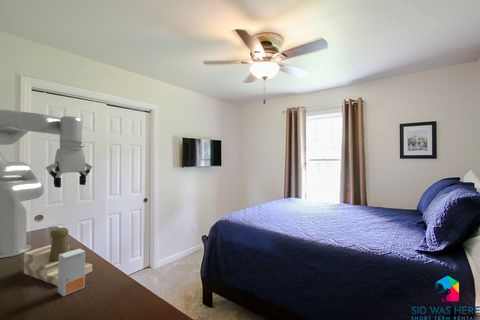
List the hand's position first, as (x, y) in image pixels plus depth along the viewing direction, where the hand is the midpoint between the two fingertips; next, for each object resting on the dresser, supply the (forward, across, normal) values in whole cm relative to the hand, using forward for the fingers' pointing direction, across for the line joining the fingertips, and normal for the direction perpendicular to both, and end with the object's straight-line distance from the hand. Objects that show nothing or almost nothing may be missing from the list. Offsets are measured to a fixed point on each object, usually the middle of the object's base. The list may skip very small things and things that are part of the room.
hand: (70, 185), depth 96 cm
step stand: (+30, +10, +11) cm, 34 cm away
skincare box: (+30, +15, +27) cm, 43 cm away
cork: (+25, +10, +10) cm, 29 cm away
